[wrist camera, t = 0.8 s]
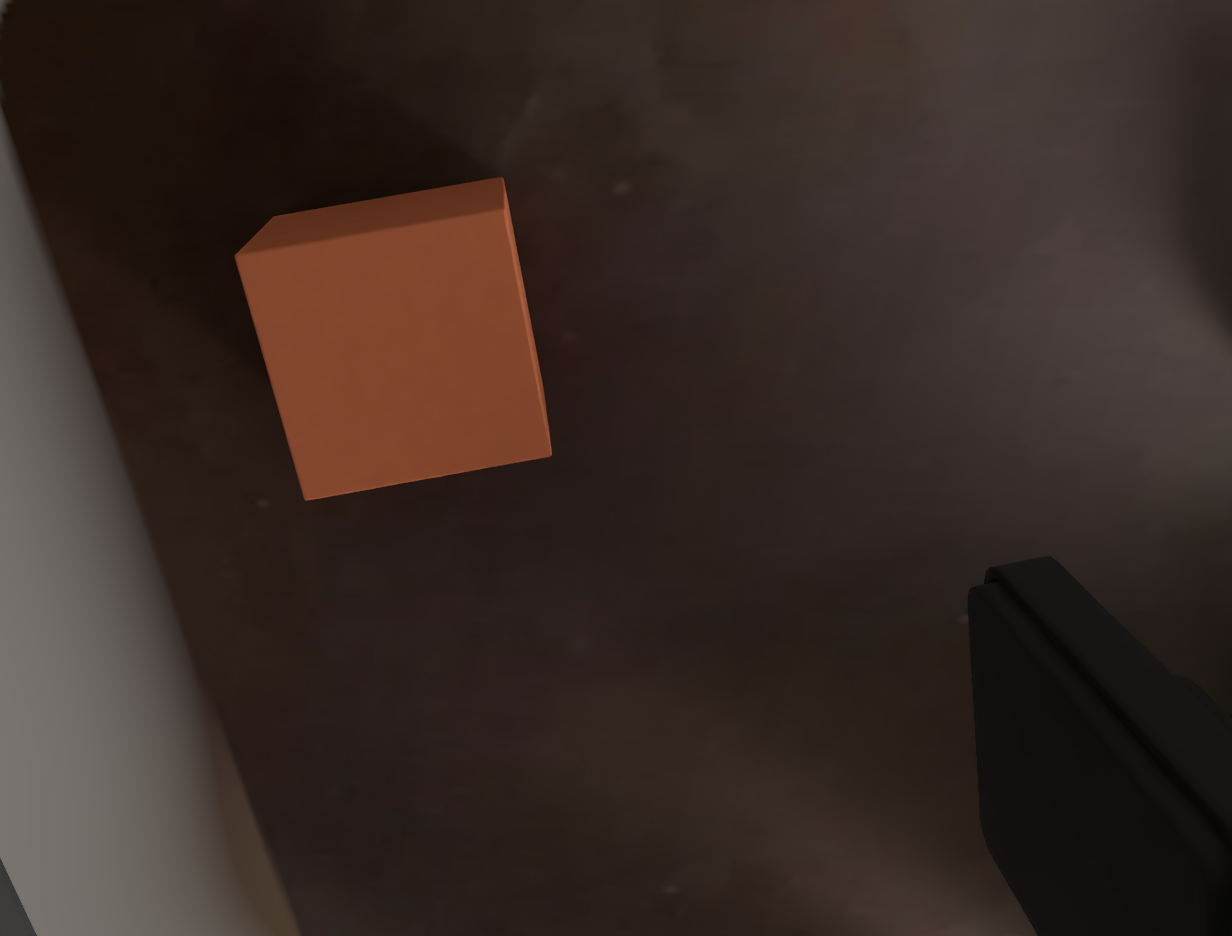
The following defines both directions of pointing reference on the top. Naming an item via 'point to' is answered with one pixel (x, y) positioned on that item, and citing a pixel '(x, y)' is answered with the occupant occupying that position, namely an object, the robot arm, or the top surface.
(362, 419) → the orange block
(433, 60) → the top surface
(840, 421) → the top surface
